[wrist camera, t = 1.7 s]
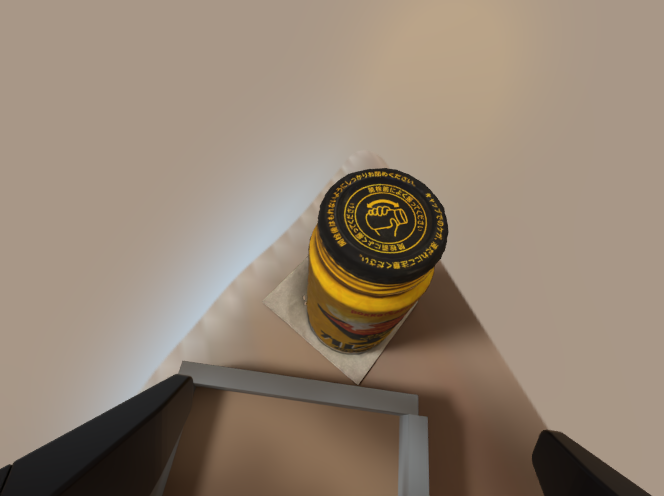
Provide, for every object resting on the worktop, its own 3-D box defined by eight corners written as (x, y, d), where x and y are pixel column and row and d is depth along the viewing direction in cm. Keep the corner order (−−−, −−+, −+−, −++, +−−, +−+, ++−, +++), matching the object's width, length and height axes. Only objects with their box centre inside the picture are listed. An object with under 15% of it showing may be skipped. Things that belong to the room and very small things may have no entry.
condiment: (357, 385, 21) (411, 337, 10) (262, 302, 23) (227, 194, 13) (417, 302, 24) (505, 202, 13) (328, 236, 26) (344, 105, 16)
